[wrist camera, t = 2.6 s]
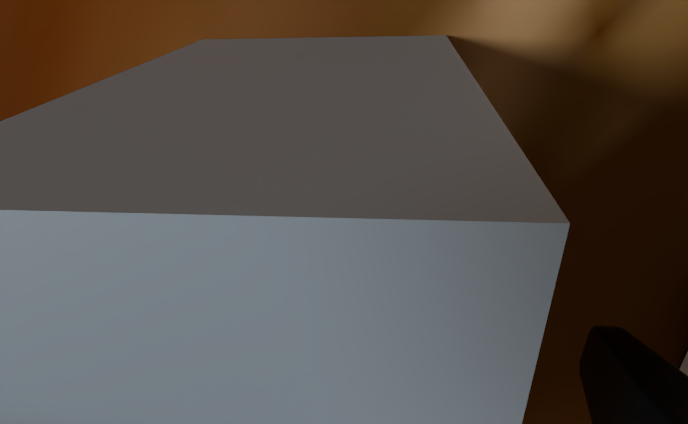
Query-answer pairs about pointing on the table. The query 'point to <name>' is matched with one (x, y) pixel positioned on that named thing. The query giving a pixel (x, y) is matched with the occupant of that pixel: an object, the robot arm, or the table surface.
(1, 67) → the table surface
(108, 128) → the block
